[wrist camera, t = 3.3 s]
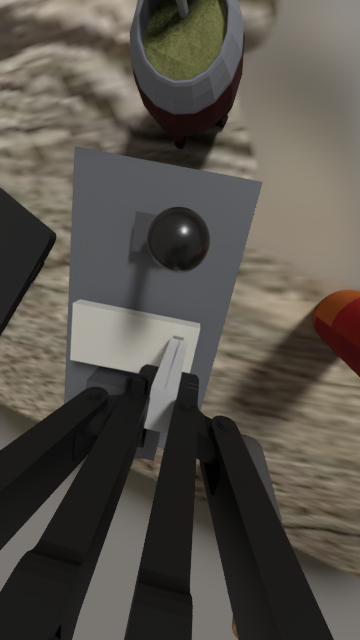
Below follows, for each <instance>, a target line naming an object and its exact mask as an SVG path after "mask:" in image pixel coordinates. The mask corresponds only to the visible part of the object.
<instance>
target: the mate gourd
mask: <svg viewBox="0 0 360 640" xmlns="http://www.w3.org/2000/svg"><path fill="white" fill-rule="evenodd" d="M244 39H245V35H244V22H243V18H242V14H241V10H240V6H239V2H238V0H138V2H137V6H136V10H135V14H134V18H133V22H132V26H131V30H130V46H131V64H132V66H133V74H134V78H135V82H136V85H137V87H138V90H139V93H140V95H141V98H142V101H143V104H144V106H145V107H146V108H147V110H148V111H149V112H150V114H151V115H152V116H153V117H154V118H155V120H156V121H157V122H158V123H159V124H160V126H161V127H162V128H163V129H164V130H166V131H167V132H168V133H169V134H170V136H171V138H172V139H174V140H175V146H176V147H178V148H180V149H183V147H184V145H185V142H186V139H187V137H188V136H191V135H198V134H200V133H202V132H204V131H206V130H207V129H209V128H211V127H213V126H214V125H217V126H219V127H222V128H223V127H224V126H225V124H226V122H227V119H228V115H227V114H228V113H229V111H230V110H231V108H232V106H233V103H234V100H235V97H236V93H237V90H238V86H239V83H240V79H241V76H242V68H243V54H244Z"/></svg>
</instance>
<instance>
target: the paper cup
mask: <svg viewBox="0 0 360 640" xmlns="http://www.w3.org/2000/svg"><path fill="white" fill-rule="evenodd" d="M313 324H314V328H315V330H316V332H317V333H318V335H319V336H320V337H321V338H322V339H323V340H324V341H325V342H326V343H327V344H328V345H329V347H330V348H331V349H332V350H333V351H334V352H335V353H336V354H337V355H338V356H339V357H340V358H341V359H342V360H343V361H344V362H345V363H346V364H347V365H348V366H349V367H350V368H351V369H352V370H353V371H354V372H355V373H356V374H357V375H358V376H359V377H360V292H359V291H352V290H344V291H338V292H335V293H333V294H331V295H329V296H327V297H326V298H325V299H323V300H322V301H321V302H320V304H319V305H318V306H317V308H316V310H315V313H314V317H313Z"/></svg>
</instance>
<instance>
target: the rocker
mask: <svg viewBox="0 0 360 640" xmlns="http://www.w3.org/2000/svg"><path fill="white" fill-rule="evenodd" d="M199 332H200V323H195V322H190V321H186V320H181V319H176V318H171V317H166V316H161V315H156V314H151V313H146V312H141V311H136V310H131V309H126V308H121V307H116V306H111V305H106V304H101V303H96V302H91V301H86V300H81V299H80V300H78V301H76V302H74V303H73V311H72V332H71V354H70V360H74V361H79V362H84V363H89V364H94V365H99V366H104V367H109V368H114V369H119V370H124V371H129V372H134V373H139V371H140V369H141V367H143V366H144V365H146V364H149V365H153V366H158V367H160V364H161V362H162V359H163V357H164V354H165V352H166V349H167V347H168V344H169V342H170V339H171V338H174V339H178V340H183V341H187V342H188V345H187V350H186V355H185V359H184V364H183V369H182V372H186V373H190V370H191V366H192V362H193V358H194V353H195V349H196V345H197V341H198V337H199Z"/></svg>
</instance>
